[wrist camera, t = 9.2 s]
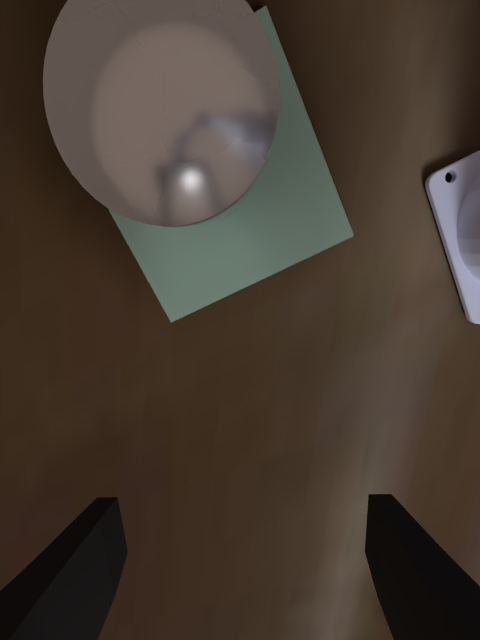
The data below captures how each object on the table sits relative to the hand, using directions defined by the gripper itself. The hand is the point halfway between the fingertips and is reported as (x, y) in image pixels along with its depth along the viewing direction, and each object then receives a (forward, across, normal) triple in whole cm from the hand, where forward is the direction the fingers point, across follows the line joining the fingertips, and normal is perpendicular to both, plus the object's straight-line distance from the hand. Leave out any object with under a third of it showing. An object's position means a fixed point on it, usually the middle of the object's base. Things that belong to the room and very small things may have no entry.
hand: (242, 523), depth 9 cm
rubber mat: (+9, +1, -10) cm, 14 cm away
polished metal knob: (+8, +1, -11) cm, 14 cm away
